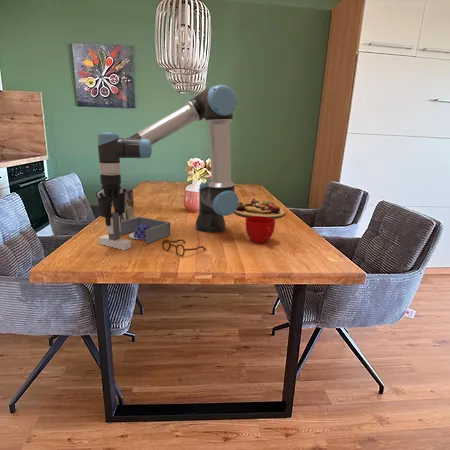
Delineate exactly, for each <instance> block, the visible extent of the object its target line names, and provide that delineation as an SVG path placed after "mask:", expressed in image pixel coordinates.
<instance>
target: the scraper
mask: <svg viewBox="0 0 450 450" xmlns="http://www.w3.org/2000/svg"><path fill="white" fill-rule="evenodd" d="M111 218H113V230H114V234H110V233H108V234H104V235H101V236H98V245H100V246H101V245H102V246H104V245H105V247H108V246H109V248H112V247H113V249H116V248H117V249H116V250H120V249H121V250H120V251H127V250H128V248H129V249H131V248H132V240H130V239H125V238H121V236H120V230H119V212H115V211H111ZM126 249H127V250H126Z"/></svg>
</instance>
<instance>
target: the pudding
mask: <svg viewBox="0 0 450 450" xmlns="http://www.w3.org/2000/svg"><path fill="white" fill-rule="evenodd" d="M147 229H150V227H149V225H147V224H139V225H137V226H136V227H135V231H133V232H130V233H129V235H128V236H129V238H131V239H136V240H146V239H145V238H146V234H145V230H147Z"/></svg>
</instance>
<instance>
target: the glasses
mask: <svg viewBox="0 0 450 450" xmlns="http://www.w3.org/2000/svg"><path fill="white" fill-rule="evenodd" d="M178 242H183V243H184V244H185V242H186V241H185V240H184V239H181V238H180V239H177V240H169V239H167V238H166V239H163V240H162V244H161V247H162V250H163V249H164V250H163V251H165V250H166V251H165V252H169V251H170V248H171V247H174V248H175V253H176V256H177V255H179V256H178V257H180V256H181V257H180V258H182V257H183V256H184V255H185V253H186V252H187V251H197V250H198V249H201V248H202V249H203V250H204V251H206V250H207V249H206V248H205V247H204V246H203V245H200V246H197V247H193V248H185V245H184V244H177V245H176V244H174V243H178ZM164 244H168V248H167V249H165V245H164ZM179 247H182V250H183V251H182V254H179V252H178V249H179Z"/></svg>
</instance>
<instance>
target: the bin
mask: <svg viewBox="0 0 450 450" xmlns="http://www.w3.org/2000/svg"><path fill="white" fill-rule="evenodd" d="M139 224H147V225H149V227H150V229H147V230H145V234H146V239H145V244H146V245H148V243H149V244H152V243H154V242H156V241H159V240H161V239H164V238H166V237H169V236H171V222H170V221H164V220H159V219H153V218H149V217H144V216H136V217H134V218H132V219H129V220H125V221H122V222H121V223H120V227H121V231H120V237H121V236H124V235H126V234H131V233H134V232H135V227H136V226H137V225H139ZM158 239H159V240H158ZM153 241H154V242H153Z"/></svg>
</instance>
